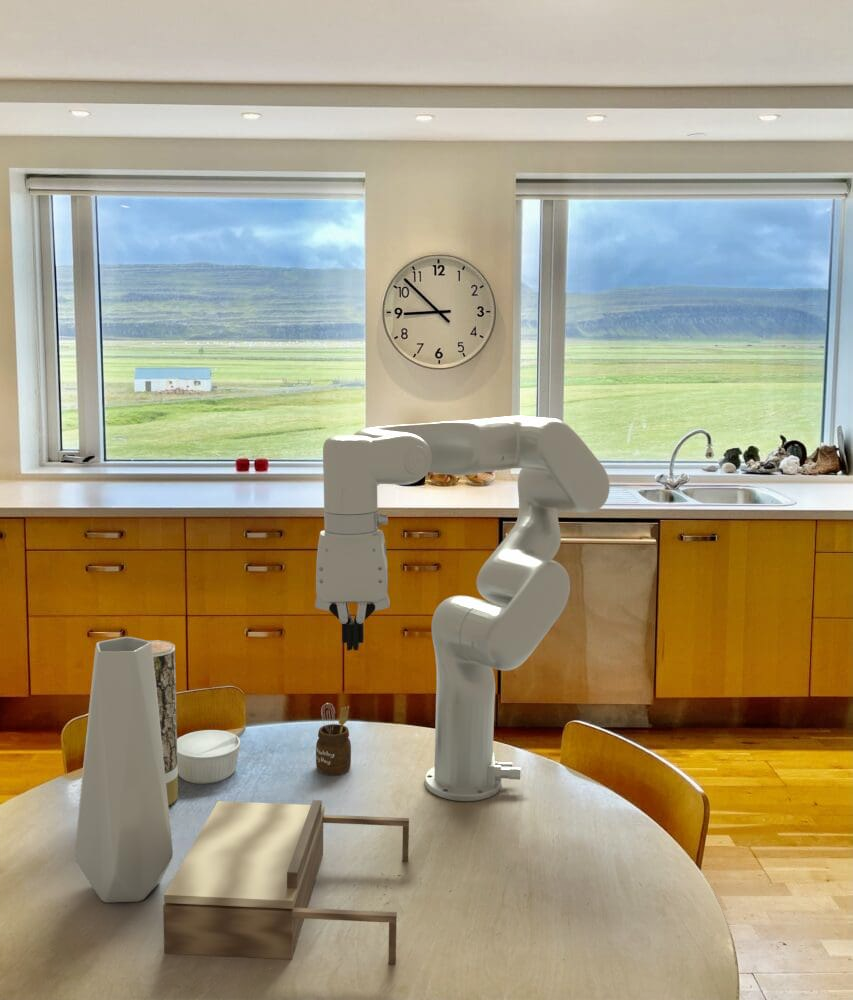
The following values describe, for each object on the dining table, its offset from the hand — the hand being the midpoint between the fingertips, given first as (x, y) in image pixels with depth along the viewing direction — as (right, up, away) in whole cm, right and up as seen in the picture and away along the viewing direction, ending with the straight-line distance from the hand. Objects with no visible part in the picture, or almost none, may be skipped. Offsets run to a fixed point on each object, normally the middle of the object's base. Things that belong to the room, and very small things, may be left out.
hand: (353, 647), depth 133 cm
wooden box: (-6, -30, -15) cm, 34 cm away
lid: (-12, -24, -16) cm, 31 cm away
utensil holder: (-5, -25, +24) cm, 35 cm away
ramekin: (-26, -25, +22) cm, 42 cm away
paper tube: (-32, -26, +11) cm, 42 cm away
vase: (-29, -30, -13) cm, 43 cm away
